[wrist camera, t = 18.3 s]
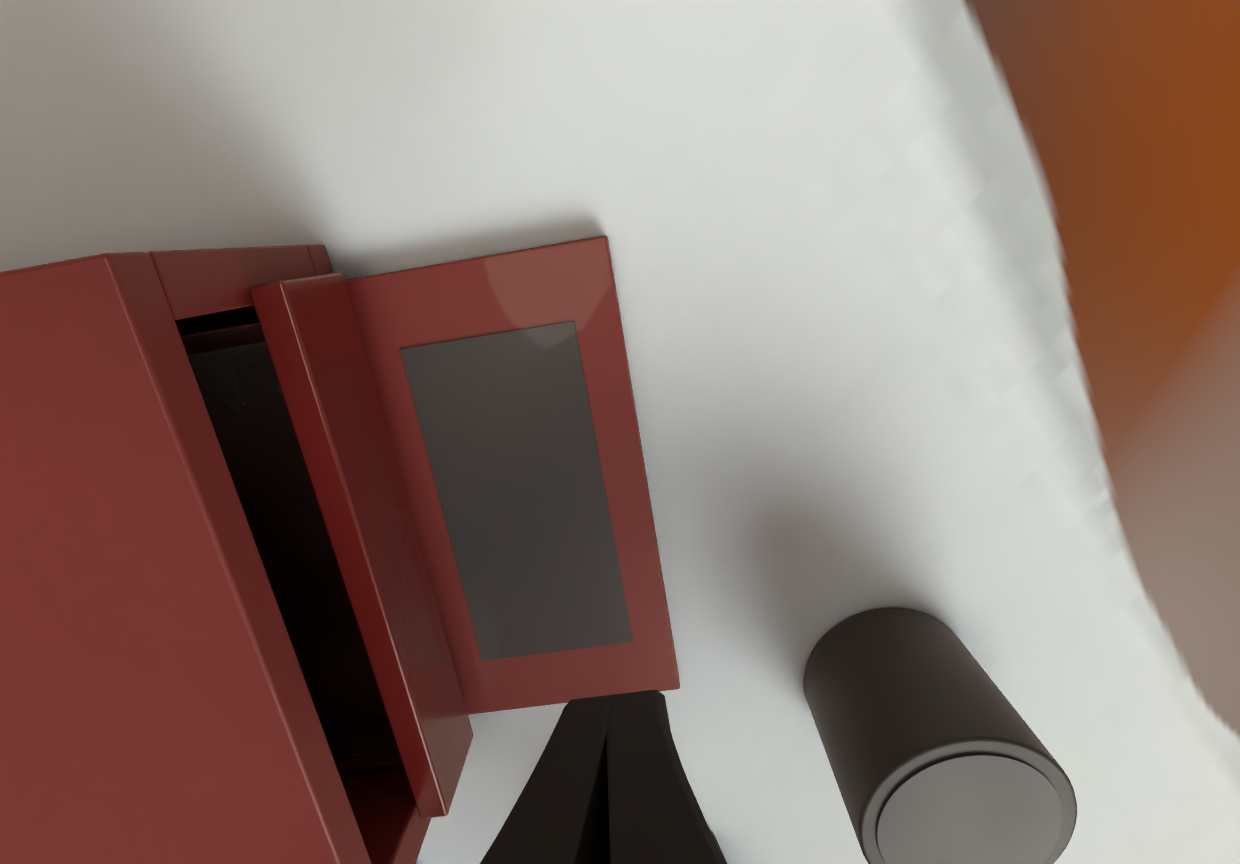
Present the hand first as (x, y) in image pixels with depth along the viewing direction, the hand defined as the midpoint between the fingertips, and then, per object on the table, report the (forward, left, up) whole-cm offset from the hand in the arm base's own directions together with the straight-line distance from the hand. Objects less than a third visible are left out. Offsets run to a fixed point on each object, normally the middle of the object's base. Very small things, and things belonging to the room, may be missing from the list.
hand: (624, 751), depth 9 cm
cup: (-8, -7, -10) cm, 15 cm away
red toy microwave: (0, +10, -10) cm, 15 cm away
